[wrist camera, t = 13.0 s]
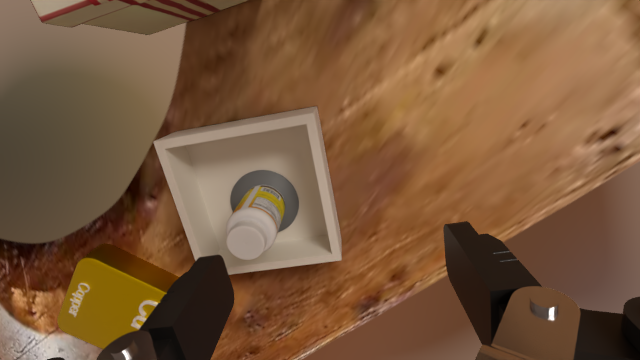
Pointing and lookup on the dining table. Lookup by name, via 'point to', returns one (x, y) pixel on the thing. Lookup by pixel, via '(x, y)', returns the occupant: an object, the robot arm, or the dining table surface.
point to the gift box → (127, 13)
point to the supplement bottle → (255, 222)
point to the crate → (247, 172)
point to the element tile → (111, 295)
